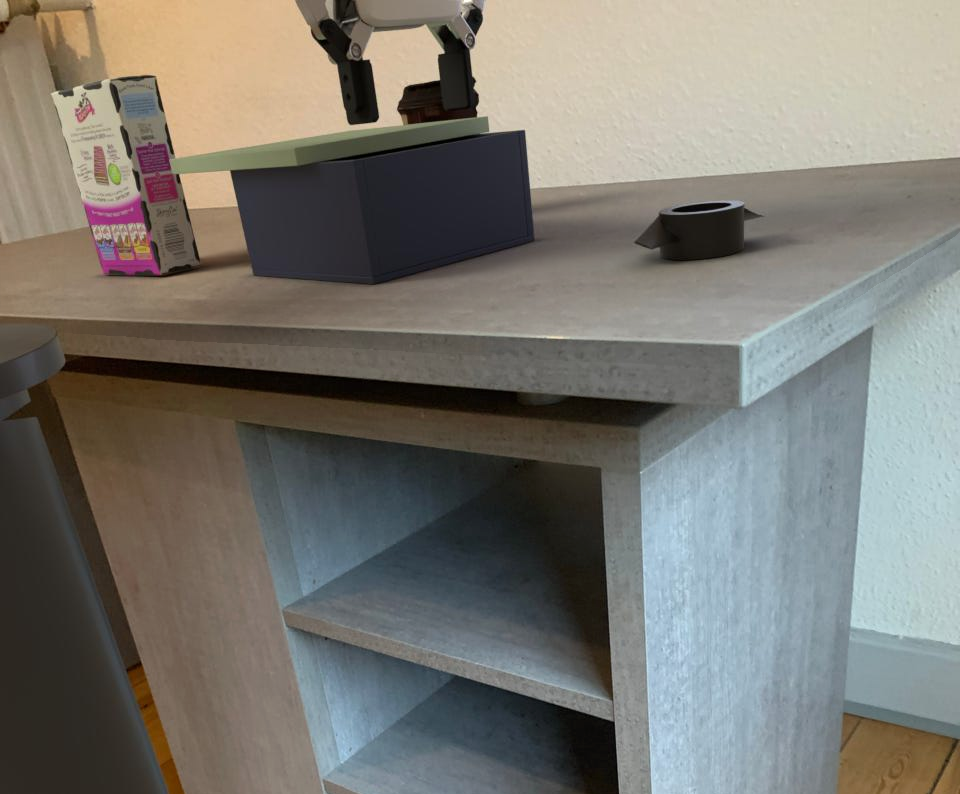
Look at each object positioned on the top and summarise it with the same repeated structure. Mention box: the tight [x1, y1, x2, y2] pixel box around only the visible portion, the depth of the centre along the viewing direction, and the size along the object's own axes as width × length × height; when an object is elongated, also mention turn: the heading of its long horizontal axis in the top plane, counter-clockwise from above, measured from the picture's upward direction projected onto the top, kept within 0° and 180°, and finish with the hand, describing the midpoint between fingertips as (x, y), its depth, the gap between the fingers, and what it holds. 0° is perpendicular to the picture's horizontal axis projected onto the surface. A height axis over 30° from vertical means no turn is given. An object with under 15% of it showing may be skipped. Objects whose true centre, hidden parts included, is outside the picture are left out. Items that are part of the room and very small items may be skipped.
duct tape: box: [633, 200, 767, 261], centre depth 68 cm, size 8×10×3 cm
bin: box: [229, 129, 536, 285], centre depth 83 cm, size 18×18×8 cm
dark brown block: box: [396, 75, 480, 125], centre depth 100 cm, size 9×8×13 cm
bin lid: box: [169, 115, 490, 175], centre depth 85 cm, size 20×20×1 cm
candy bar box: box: [50, 74, 202, 277], centre depth 93 cm, size 11×5×16 cm, turn 49°
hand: (413, 116), depth 76 cm, fingers open, 9 cm apart
